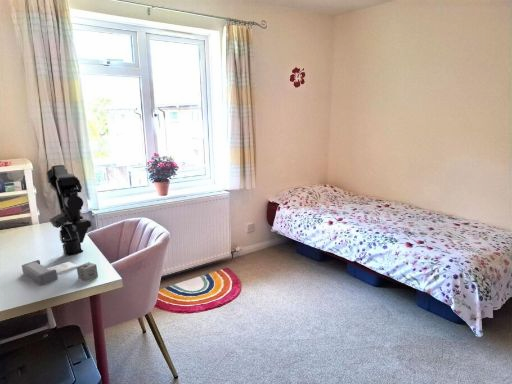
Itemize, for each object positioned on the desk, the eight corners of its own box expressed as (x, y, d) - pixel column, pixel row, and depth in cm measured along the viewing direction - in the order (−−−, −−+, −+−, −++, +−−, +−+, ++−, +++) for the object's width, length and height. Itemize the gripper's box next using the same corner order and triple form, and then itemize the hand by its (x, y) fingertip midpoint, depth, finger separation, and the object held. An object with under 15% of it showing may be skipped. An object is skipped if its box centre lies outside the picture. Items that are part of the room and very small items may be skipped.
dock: (40, 268, 144) (38, 259, 143) (57, 279, 133) (56, 270, 132) (23, 274, 139) (21, 265, 138) (40, 286, 129) (38, 276, 128)
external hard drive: (37, 275, 139) (69, 264, 149) (45, 280, 134) (77, 268, 143) (36, 271, 139) (68, 260, 148) (44, 276, 134) (77, 265, 143)
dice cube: (78, 278, 133) (76, 267, 132) (90, 273, 137) (88, 262, 136) (86, 281, 131) (84, 269, 130) (98, 276, 135) (96, 264, 134)
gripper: (41, 207, 142) (47, 242, 146) (60, 213, 131) (67, 251, 134) (69, 201, 151) (74, 234, 154) (89, 206, 139) (94, 243, 143)
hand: (77, 240), depth 146 cm, fingers open, 7 cm apart
